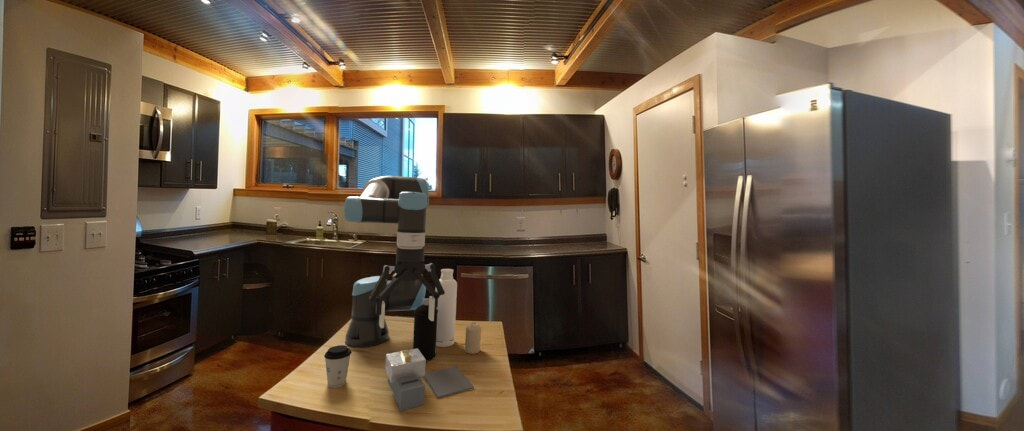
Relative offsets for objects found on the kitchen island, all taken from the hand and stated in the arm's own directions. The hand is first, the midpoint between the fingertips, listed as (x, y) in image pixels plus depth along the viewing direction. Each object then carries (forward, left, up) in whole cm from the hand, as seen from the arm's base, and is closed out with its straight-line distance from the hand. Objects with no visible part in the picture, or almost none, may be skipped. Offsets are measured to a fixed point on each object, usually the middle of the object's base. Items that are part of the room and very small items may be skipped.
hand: (407, 323), depth 91 cm
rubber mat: (+1, +13, -19) cm, 23 cm away
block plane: (+1, 0, -19) cm, 19 cm away
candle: (-15, +28, -19) cm, 37 cm away
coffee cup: (-12, -16, -19) cm, 28 cm away
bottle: (-26, +21, -19) cm, 39 cm away
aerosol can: (-18, +11, -19) cm, 29 cm away
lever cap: (0, 0, -14) cm, 14 cm away
